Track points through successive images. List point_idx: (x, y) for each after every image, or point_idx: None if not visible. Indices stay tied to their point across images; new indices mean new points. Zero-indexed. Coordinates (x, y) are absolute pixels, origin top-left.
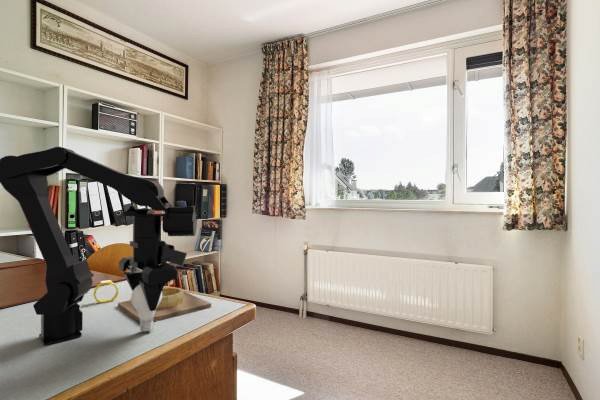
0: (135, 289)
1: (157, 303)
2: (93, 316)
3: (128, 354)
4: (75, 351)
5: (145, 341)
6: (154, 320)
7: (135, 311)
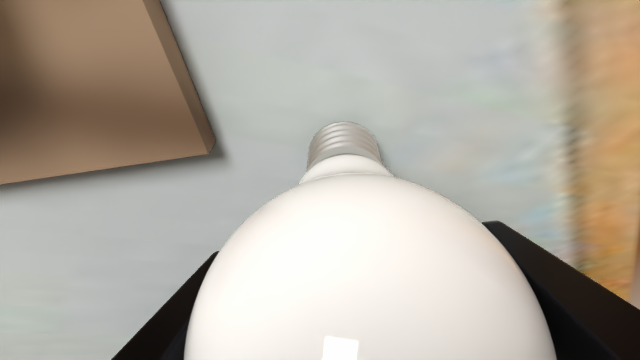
0: None
1: (555, 257)
2: (26, 278)
3: (527, 235)
4: None
5: (459, 170)
6: (185, 76)
7: (17, 160)
